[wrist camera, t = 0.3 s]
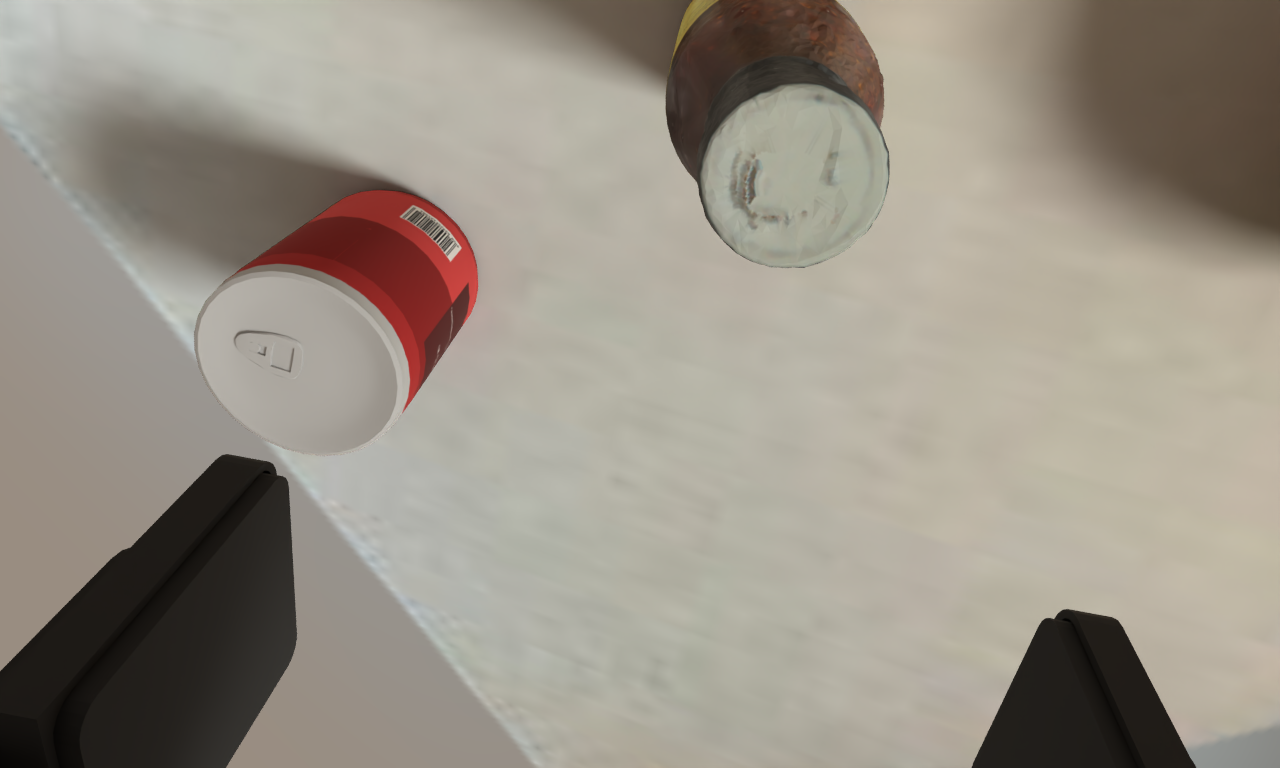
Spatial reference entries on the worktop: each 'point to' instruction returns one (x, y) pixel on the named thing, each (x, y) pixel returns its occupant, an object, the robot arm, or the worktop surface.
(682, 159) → the sauce bottle
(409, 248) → the canned food
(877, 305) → the worktop surface
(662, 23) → the worktop surface
